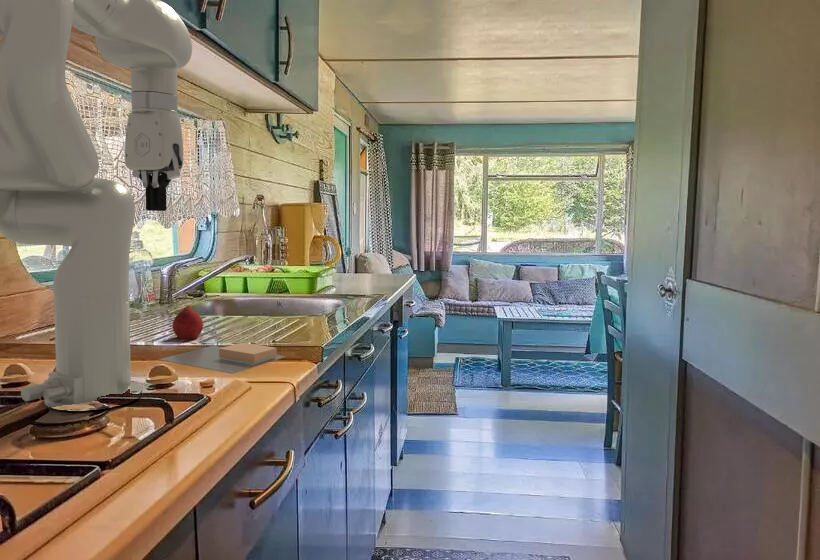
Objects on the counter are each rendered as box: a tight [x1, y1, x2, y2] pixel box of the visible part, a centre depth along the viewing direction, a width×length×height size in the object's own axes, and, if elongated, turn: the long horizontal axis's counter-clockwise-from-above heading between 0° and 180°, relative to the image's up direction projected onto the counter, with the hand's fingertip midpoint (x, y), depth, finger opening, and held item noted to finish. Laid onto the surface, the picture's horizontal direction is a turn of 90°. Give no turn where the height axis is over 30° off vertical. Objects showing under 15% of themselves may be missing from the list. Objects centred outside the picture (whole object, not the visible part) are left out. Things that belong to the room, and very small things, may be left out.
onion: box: [172, 304, 204, 340], centre depth 127 cm, size 6×6×8 cm
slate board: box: [157, 345, 287, 375], centre depth 112 cm, size 14×17×1 cm
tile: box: [219, 342, 278, 365], centre depth 112 cm, size 6×2×8 cm
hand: (156, 210), depth 112 cm, fingers closed
